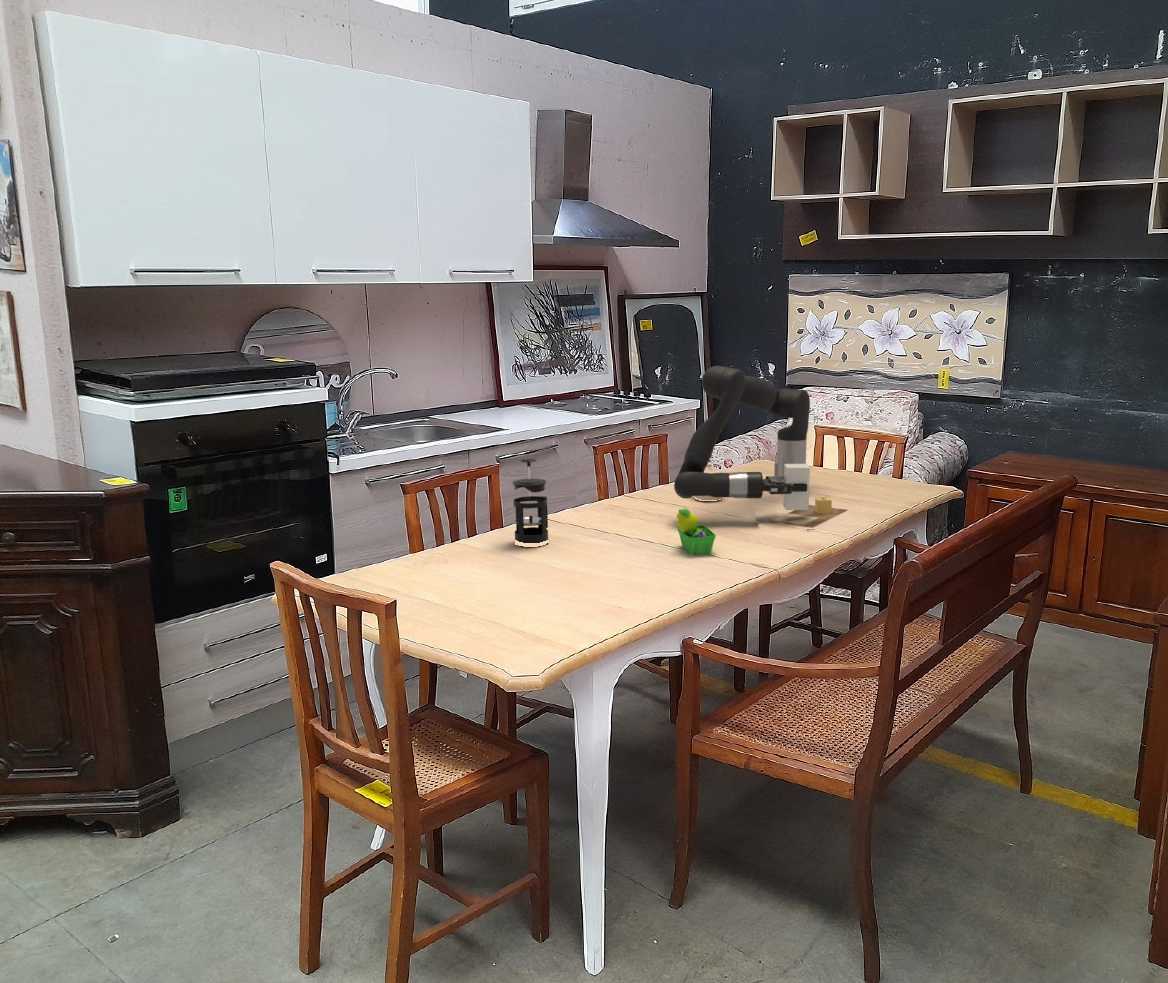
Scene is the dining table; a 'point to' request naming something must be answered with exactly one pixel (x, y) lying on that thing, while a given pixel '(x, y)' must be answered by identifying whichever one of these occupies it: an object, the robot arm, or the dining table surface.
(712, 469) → the teacup with lid
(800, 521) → the board
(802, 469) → the white rounded block
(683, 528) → the fruit basket
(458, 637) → the dining table surface
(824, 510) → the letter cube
